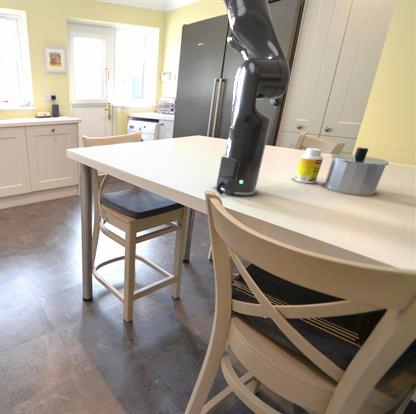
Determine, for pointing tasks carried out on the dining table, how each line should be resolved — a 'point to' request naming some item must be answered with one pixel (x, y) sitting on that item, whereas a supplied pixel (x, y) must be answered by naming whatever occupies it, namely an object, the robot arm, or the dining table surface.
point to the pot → (353, 178)
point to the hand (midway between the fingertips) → (278, 106)
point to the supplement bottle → (309, 166)
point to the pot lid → (360, 158)
